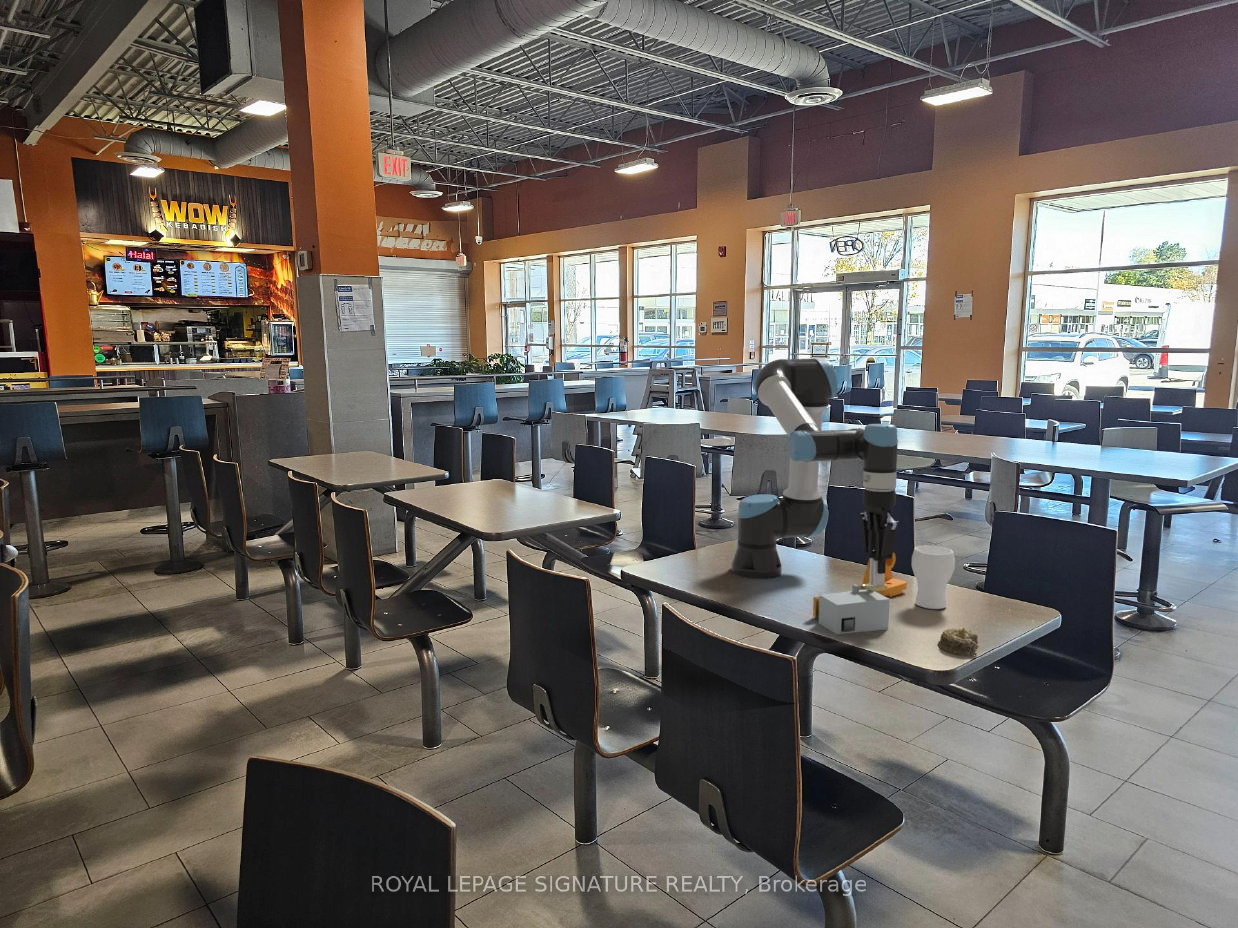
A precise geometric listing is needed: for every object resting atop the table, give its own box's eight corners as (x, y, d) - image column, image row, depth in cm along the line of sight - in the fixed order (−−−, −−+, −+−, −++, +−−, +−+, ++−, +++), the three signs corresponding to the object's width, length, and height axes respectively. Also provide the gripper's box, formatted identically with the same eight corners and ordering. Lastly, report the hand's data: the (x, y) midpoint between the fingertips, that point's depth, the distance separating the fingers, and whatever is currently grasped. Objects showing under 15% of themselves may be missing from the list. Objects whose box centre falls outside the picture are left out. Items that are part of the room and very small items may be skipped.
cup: (909, 608, 207) (912, 553, 205) (909, 596, 217) (912, 543, 214) (953, 613, 203) (956, 556, 201) (951, 600, 213) (954, 546, 211)
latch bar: (856, 589, 196) (856, 584, 196) (867, 588, 197) (867, 583, 197) (876, 591, 188) (876, 586, 188) (888, 590, 189) (887, 585, 189)
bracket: (884, 598, 215) (886, 556, 213) (862, 592, 221) (863, 550, 219) (907, 591, 221) (909, 550, 219) (885, 584, 227) (887, 544, 225)
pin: (812, 616, 199) (813, 597, 198) (830, 613, 200) (830, 595, 200) (839, 633, 187) (840, 612, 187) (857, 630, 189) (858, 610, 188)
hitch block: (818, 625, 195) (819, 587, 194) (868, 619, 199) (870, 582, 198) (836, 637, 188) (837, 597, 186) (888, 630, 192) (889, 591, 190)
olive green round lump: (937, 655, 177) (939, 632, 176) (936, 639, 186) (938, 618, 185) (986, 661, 173) (987, 638, 173) (982, 645, 183) (984, 622, 182)
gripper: (849, 485, 193) (847, 579, 196) (883, 494, 180) (880, 594, 183) (875, 484, 195) (873, 576, 198) (911, 492, 182) (908, 591, 185)
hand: (876, 584), depth 190 cm, fingers closed
